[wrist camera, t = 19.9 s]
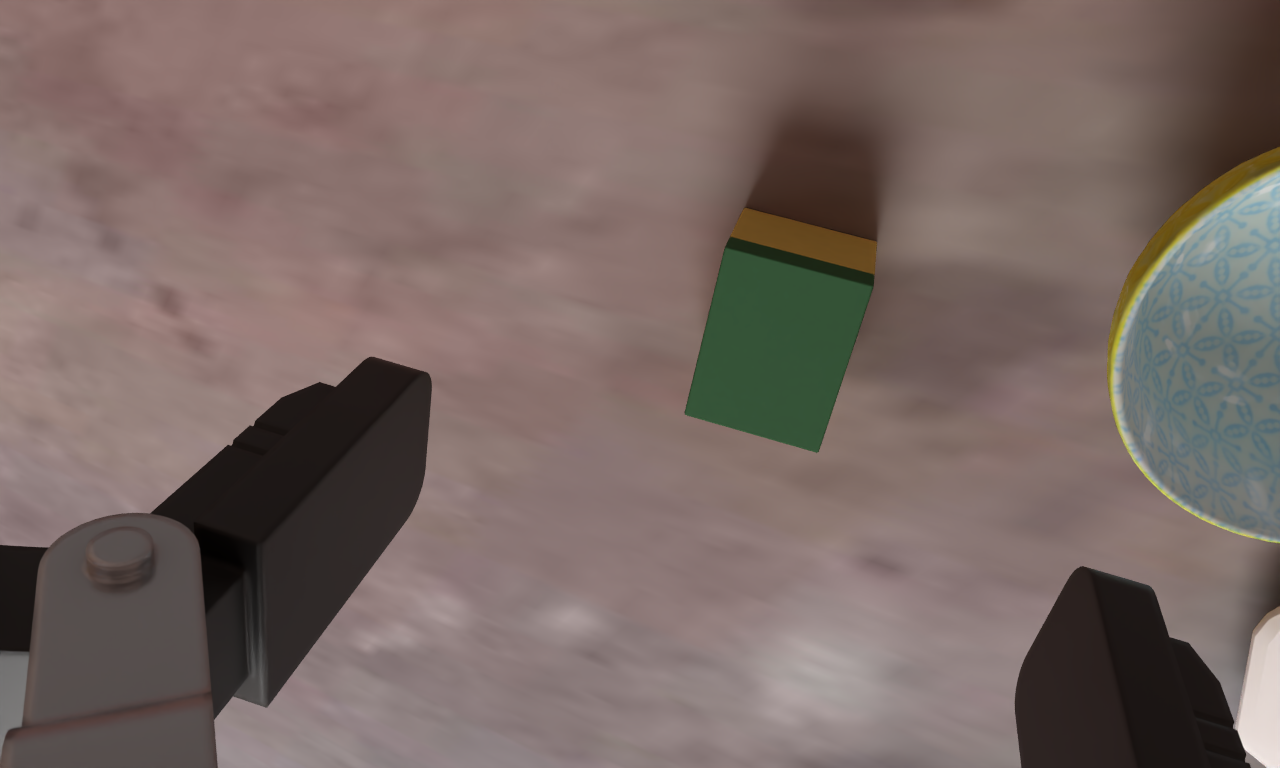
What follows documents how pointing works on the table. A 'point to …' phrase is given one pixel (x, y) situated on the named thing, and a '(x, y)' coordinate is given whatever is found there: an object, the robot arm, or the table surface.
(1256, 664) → the plate
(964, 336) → the table surface
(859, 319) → the sponge
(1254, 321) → the bowl
